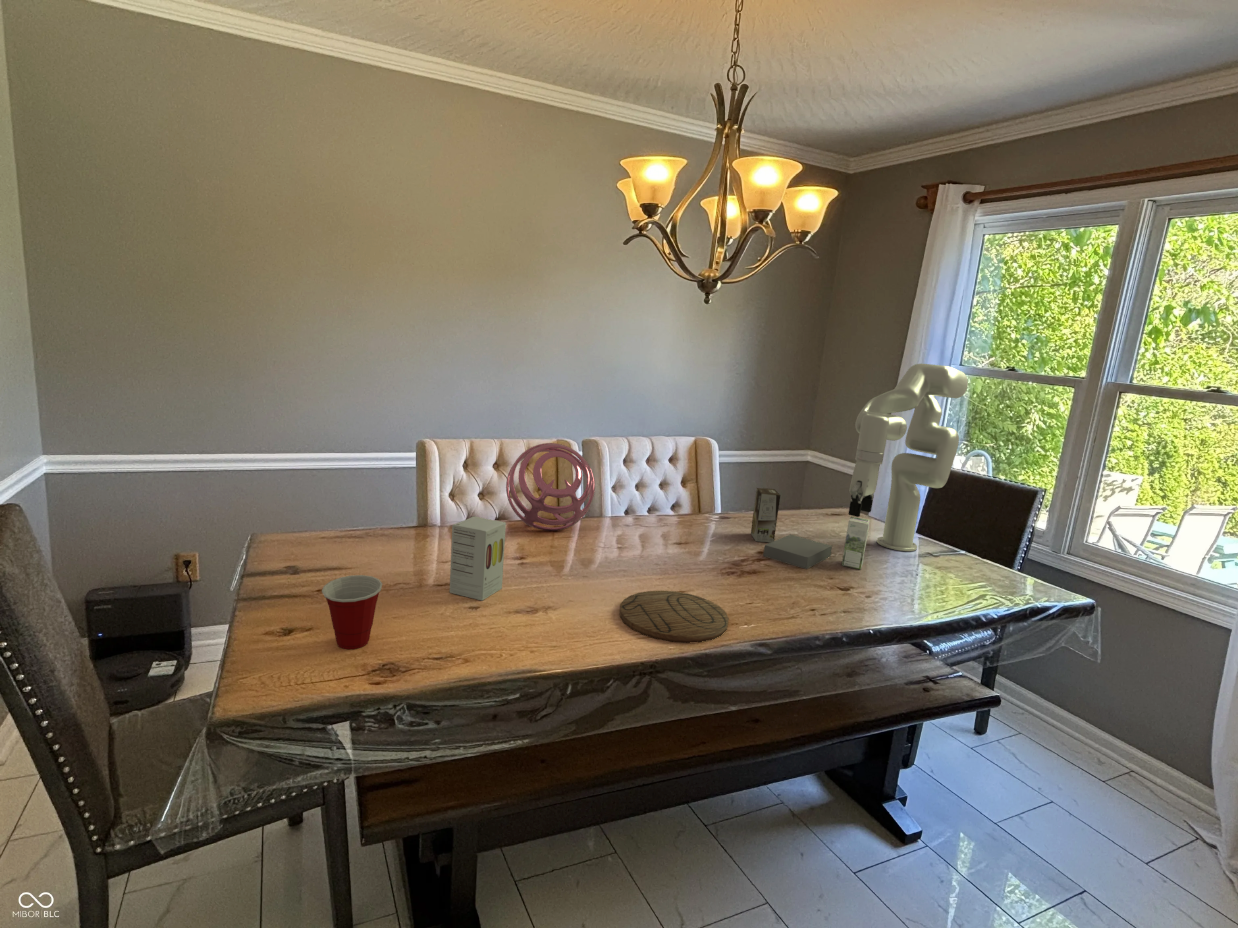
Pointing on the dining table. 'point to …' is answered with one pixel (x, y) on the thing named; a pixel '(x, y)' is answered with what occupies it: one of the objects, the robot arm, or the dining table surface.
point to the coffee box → (765, 514)
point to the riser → (797, 551)
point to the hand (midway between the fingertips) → (859, 513)
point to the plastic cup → (352, 608)
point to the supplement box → (477, 557)
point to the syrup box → (855, 542)
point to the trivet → (673, 616)
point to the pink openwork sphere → (547, 489)
